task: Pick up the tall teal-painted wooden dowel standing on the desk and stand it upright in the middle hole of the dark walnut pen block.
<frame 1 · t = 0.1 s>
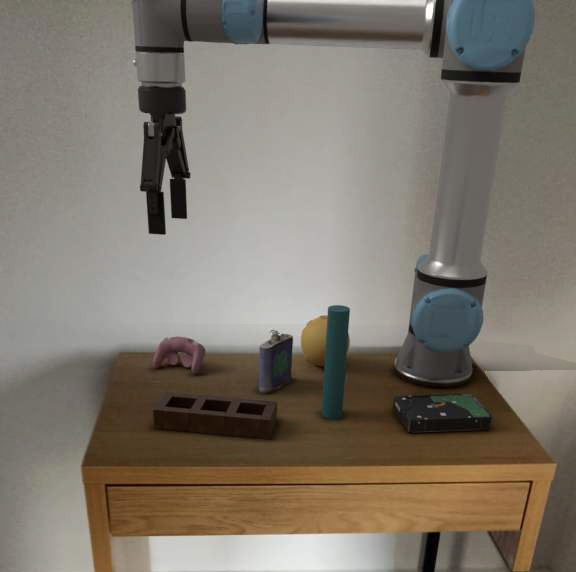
hand: (168, 225, 130), 28 cm above the table, tool pointing down, fingers open, 13 cm apart
dowel: (331, 414, 132), on the table
pen block: (216, 424, 128), on the table
video game controller: (179, 368, 149), on the table
flask: (274, 386, 143), on the table
stress ball: (323, 365, 153), on the table
disk drive: (440, 420, 132), on the table
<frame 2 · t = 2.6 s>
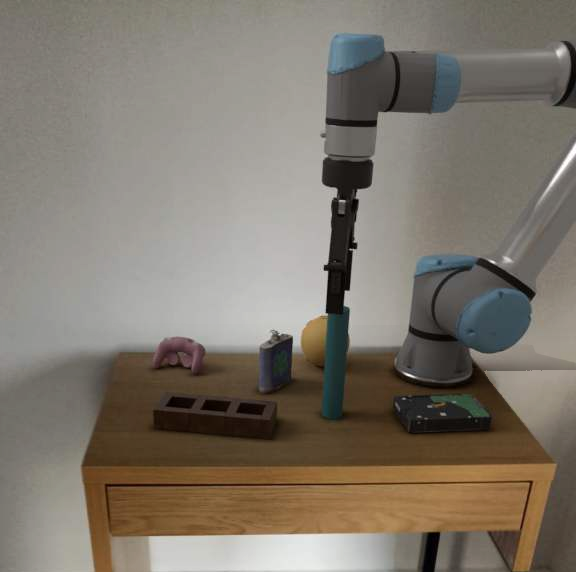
hand: (338, 301, 122), 20 cm above the table, tool pointing down, fingers open, 13 cm apart
nothing on the table moved.
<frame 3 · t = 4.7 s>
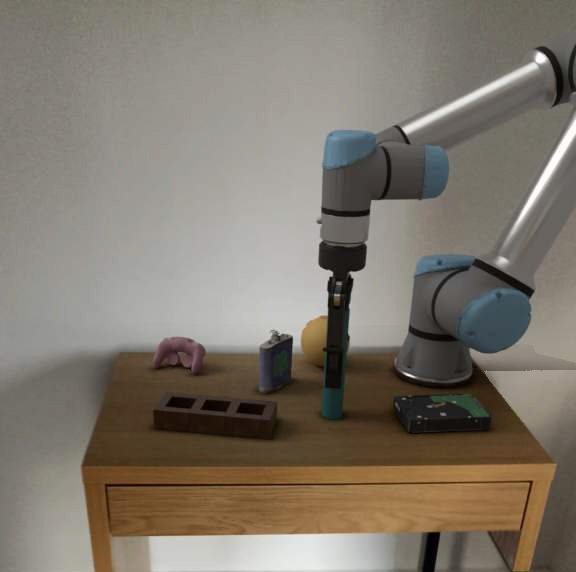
hand: (334, 382, 129), 6 cm above the table, tool pointing down, fingers closed on dowel, 4 cm apart
dowel: (331, 414, 132), on the table, touching gripper
everything else where it was.
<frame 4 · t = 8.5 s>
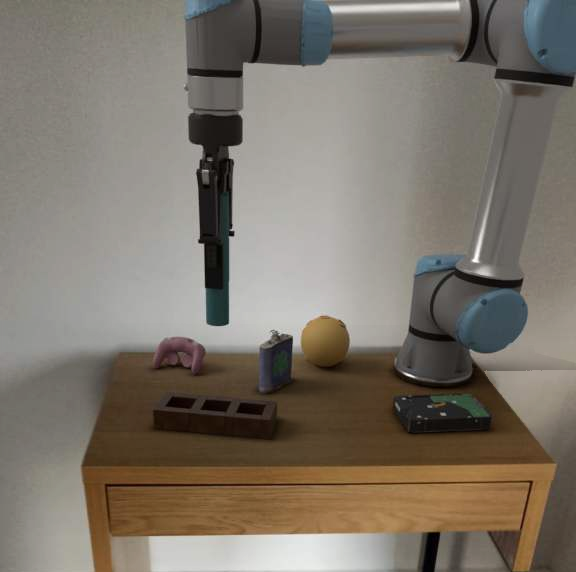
hand: (217, 284, 115), 24 cm above the table, tool pointing down, fingers closed on dowel, 4 cm apart
dowel: (217, 322, 118), point 18 cm above the table, touching gripper
everything else where it was.
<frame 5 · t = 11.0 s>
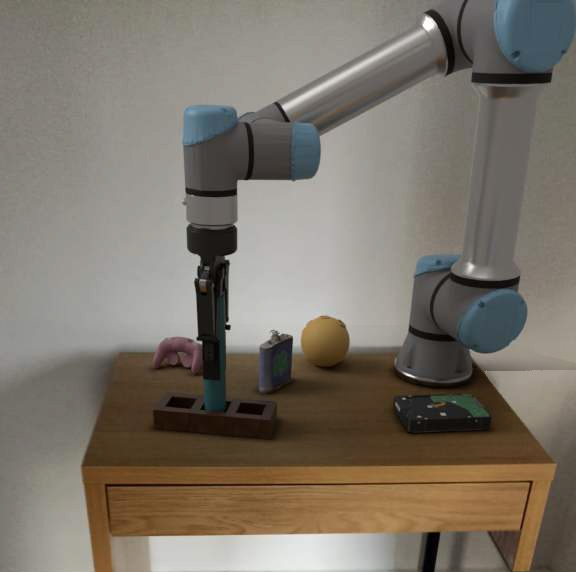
hand: (214, 374, 123), 9 cm above the table, tool pointing down, fingers closed on dowel, 4 cm apart
dowel: (215, 408, 126), point 3 cm above the table, touching gripper
everything else where it was.
when the fingers open (6 cm above the table, at t = 12.4 s): dowel stays where it is, resting in pen block.
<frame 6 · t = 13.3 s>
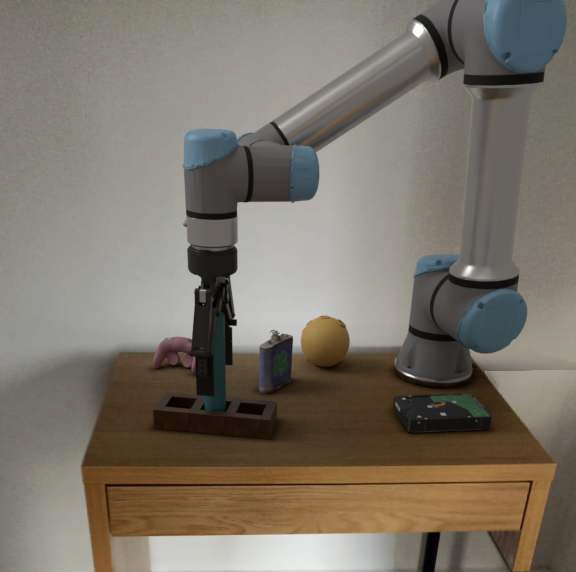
hand: (215, 379, 123), 8 cm above the table, tool pointing down, fingers open, 13 cm apart
dowel: (215, 424, 128), resting in pen block
everything else where it was.
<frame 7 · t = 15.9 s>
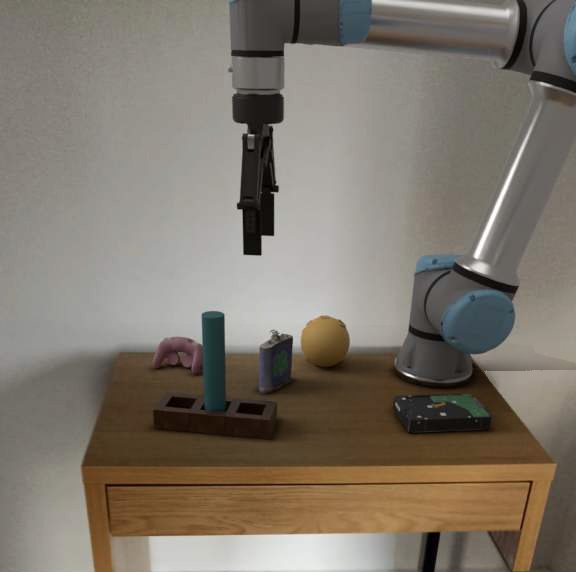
hand: (259, 244, 119), 28 cm above the table, tool pointing down, fingers open, 13 cm apart
nothing on the table moved.
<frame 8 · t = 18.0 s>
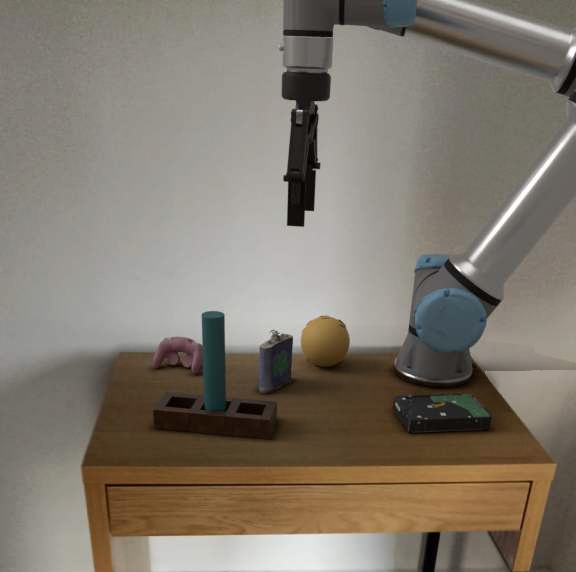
hand: (301, 218, 125), 31 cm above the table, tool pointing down, fingers open, 13 cm apart
nothing on the table moved.
at the end: dowel 0.1 cm off-centre in the pen block, point 0.0 cm above the pen block's base; dowel tilted 0°; the gripper is holding nothing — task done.
